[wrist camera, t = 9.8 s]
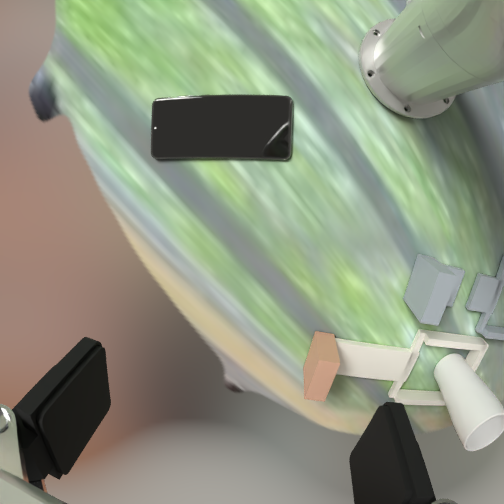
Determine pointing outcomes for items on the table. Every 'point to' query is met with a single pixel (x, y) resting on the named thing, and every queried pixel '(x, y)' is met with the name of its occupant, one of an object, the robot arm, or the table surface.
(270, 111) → the smartphone
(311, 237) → the table surface
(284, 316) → the table surface
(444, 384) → the drinking glass
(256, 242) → the table surface
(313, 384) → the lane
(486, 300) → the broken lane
